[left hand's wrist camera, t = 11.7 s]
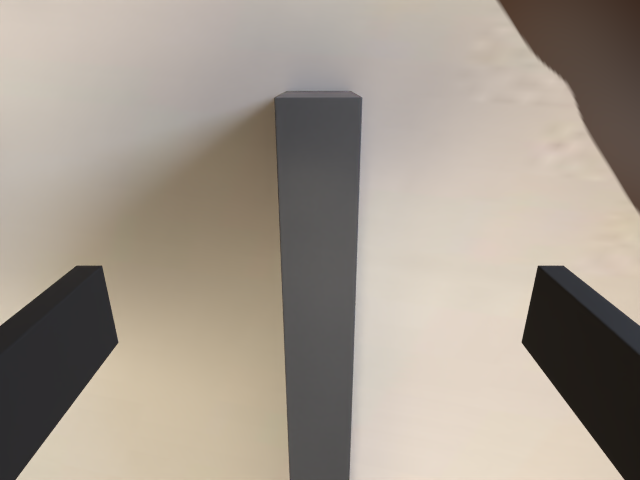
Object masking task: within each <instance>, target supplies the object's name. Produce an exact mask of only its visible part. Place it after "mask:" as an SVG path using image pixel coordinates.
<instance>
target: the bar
mask: <svg viewBox="0 0 640 480" xmlns="http://www.w3.org/2000/svg"><path fill="white" fill-rule="evenodd" d="M361 117H362V97H360V96H358V95H357V94H355V93H353V92H351V91H286V92H284V93H283V94H281V95H279V96H277V97H275V123H276V148H277V173H278V197H279V222H280V247H281V272H282V297H283V322H284V347H285V372H286V397H287V421H288V446H289V471H290V480H349V474H350V444H351V415H352V385H353V355H354V325H355V296H356V266H357V236H358V206H359V177H360V147H361Z"/></svg>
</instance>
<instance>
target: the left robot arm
mask: <svg viewBox="0 0 640 480" xmlns="http://www.w3.org/2000/svg"><path fill="white" fill-rule="evenodd" d="M117 344H118V338H117V334H116V329H115V324H114V320H113V315H112V310H111V306H110V301H109V296H108V292H107V287H106V282H105V277H104V273H103V268H102V266H76V267H74V268H73V269H72V270H71V271H69V272H68V273H67V274H66V275H64V276H63V277H62V278H60V279H59V280H58V281H57V282H55V283H54V284H53V285H52V286H50V287H49V288H48V289H46V290H45V291H44V292H43V293H41V294H40V295H39V296H38V297H36V298H35V299H34V300H33V301H31V302H30V303H29V304H27V305H26V306H25V307H24V308H22V309H21V310H20V311H19V312H17V313H16V314H15V315H14V316H12V317H11V318H10V319H8V320H7V321H6V322H5V323H3V324H2V325H1V326H0V480H16V478H17V477H18V476H19V474H20V473H21V472H22V470H23V469H24V468H25V466H26V465H27V464H28V462H29V461H30V460H31V458H32V457H33V456H34V454H35V453H36V452H37V450H38V449H39V448H40V446H41V445H42V444H43V442H44V441H45V440H46V438H47V437H48V436H49V434H50V433H51V432H52V430H53V429H54V428H55V426H56V425H57V424H58V422H59V421H60V420H61V418H62V417H63V416H64V414H65V413H66V412H67V410H68V409H69V408H70V406H71V405H72V404H73V402H74V401H75V400H76V398H77V397H78V396H79V394H80V393H81V392H82V390H83V389H84V388H85V386H86V385H87V384H88V382H89V381H90V380H91V378H92V377H93V376H94V374H95V373H96V372H97V370H98V369H99V368H100V366H101V365H102V364H103V362H104V361H105V360H106V358H107V357H108V356H109V354H110V353H111V352H112V350H113V349H114V348H115V346H116V345H117ZM522 344H523V345H524V346H525V348H526V349H527V350H528V352H529V353H530V354H531V356H532V357H533V358H534V360H535V361H536V362H537V364H538V365H539V366H540V368H541V369H542V370H543V372H544V373H545V374H546V376H547V377H548V378H549V380H550V381H551V382H552V384H553V385H554V386H555V388H556V389H557V390H558V392H559V393H560V394H561V396H562V397H563V398H564V400H565V401H566V402H567V404H568V405H569V406H570V408H571V409H572V410H573V412H574V413H575V414H576V416H577V417H578V418H579V420H580V421H581V422H582V424H583V425H584V426H585V428H586V429H587V430H588V432H589V433H590V434H591V436H592V437H593V438H594V440H595V441H596V442H597V444H598V445H599V446H600V448H601V449H602V450H603V452H604V453H605V454H606V456H607V457H608V458H609V460H610V461H611V462H612V464H613V465H614V466H615V468H616V469H617V470H618V472H619V473H620V474H621V476H622V477H623V478H624V480H640V326H639V325H638V324H637V323H635V322H634V321H633V320H632V319H630V318H629V317H628V316H626V315H625V314H624V313H623V312H621V311H620V310H619V309H618V308H616V307H615V306H614V305H613V304H611V303H610V302H609V301H607V300H606V299H605V298H604V297H602V296H601V295H600V294H599V293H597V292H596V291H595V290H594V289H592V288H591V287H590V286H588V285H587V284H586V283H585V282H583V281H582V280H581V279H580V278H578V277H577V276H576V275H574V274H573V273H572V272H571V271H569V270H568V269H567V268H566V267H564V266H538V268H537V273H536V277H535V282H534V287H533V291H532V296H531V301H530V306H529V310H528V315H527V320H526V324H525V329H524V334H523V338H522Z"/></svg>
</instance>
